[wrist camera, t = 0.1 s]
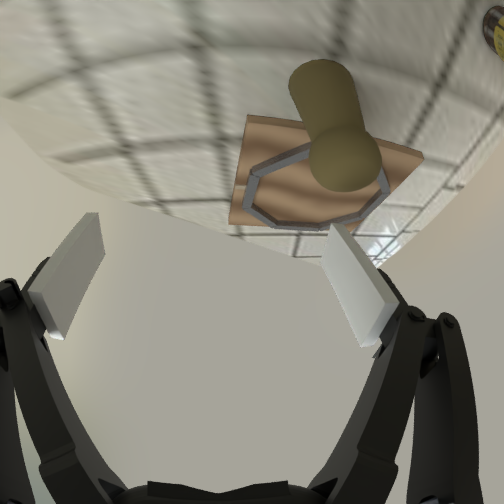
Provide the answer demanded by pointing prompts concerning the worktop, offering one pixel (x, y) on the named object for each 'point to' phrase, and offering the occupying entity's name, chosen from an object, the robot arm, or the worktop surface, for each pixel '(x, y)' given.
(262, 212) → the steel ring
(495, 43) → the sauce bottle
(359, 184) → the cork
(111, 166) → the worktop surface
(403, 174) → the walnut board
